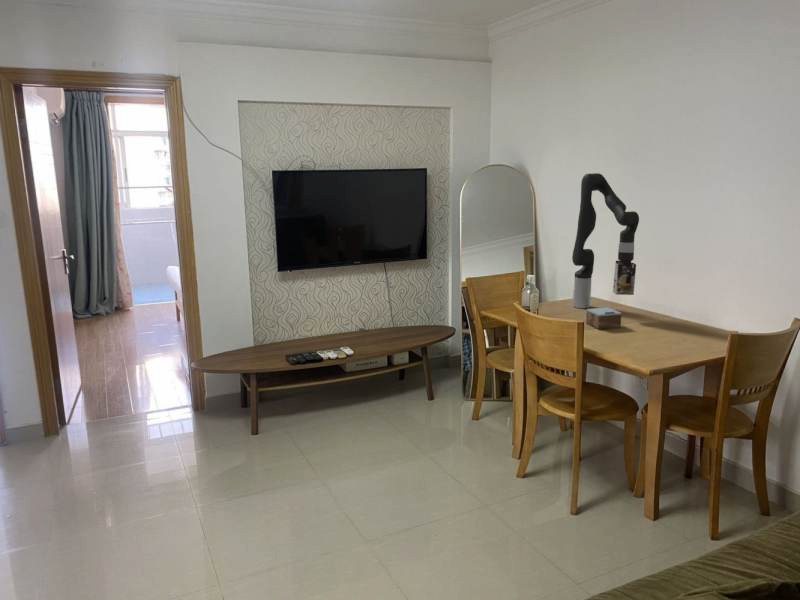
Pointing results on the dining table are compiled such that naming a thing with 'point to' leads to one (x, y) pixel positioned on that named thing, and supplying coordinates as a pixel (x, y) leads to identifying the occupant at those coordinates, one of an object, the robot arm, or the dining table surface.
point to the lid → (603, 311)
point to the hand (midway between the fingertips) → (624, 282)
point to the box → (603, 321)
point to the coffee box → (623, 280)
